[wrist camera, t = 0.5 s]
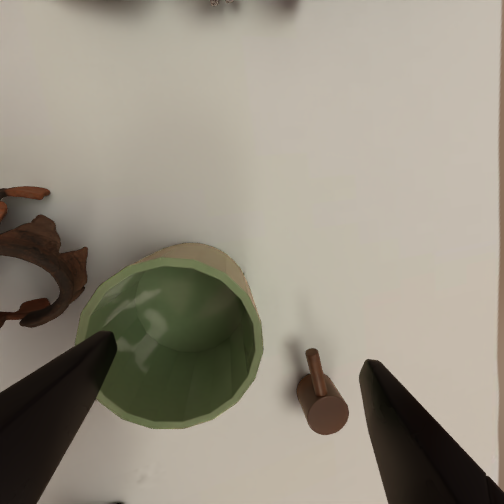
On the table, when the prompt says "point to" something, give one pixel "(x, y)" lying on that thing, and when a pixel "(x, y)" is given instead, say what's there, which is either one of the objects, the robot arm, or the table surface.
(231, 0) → the spaceship
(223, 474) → the table surface
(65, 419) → the robot arm
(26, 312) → the gnarled wooden root
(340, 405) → the scoop
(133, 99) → the table surface
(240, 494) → the table surface
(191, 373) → the green round container
